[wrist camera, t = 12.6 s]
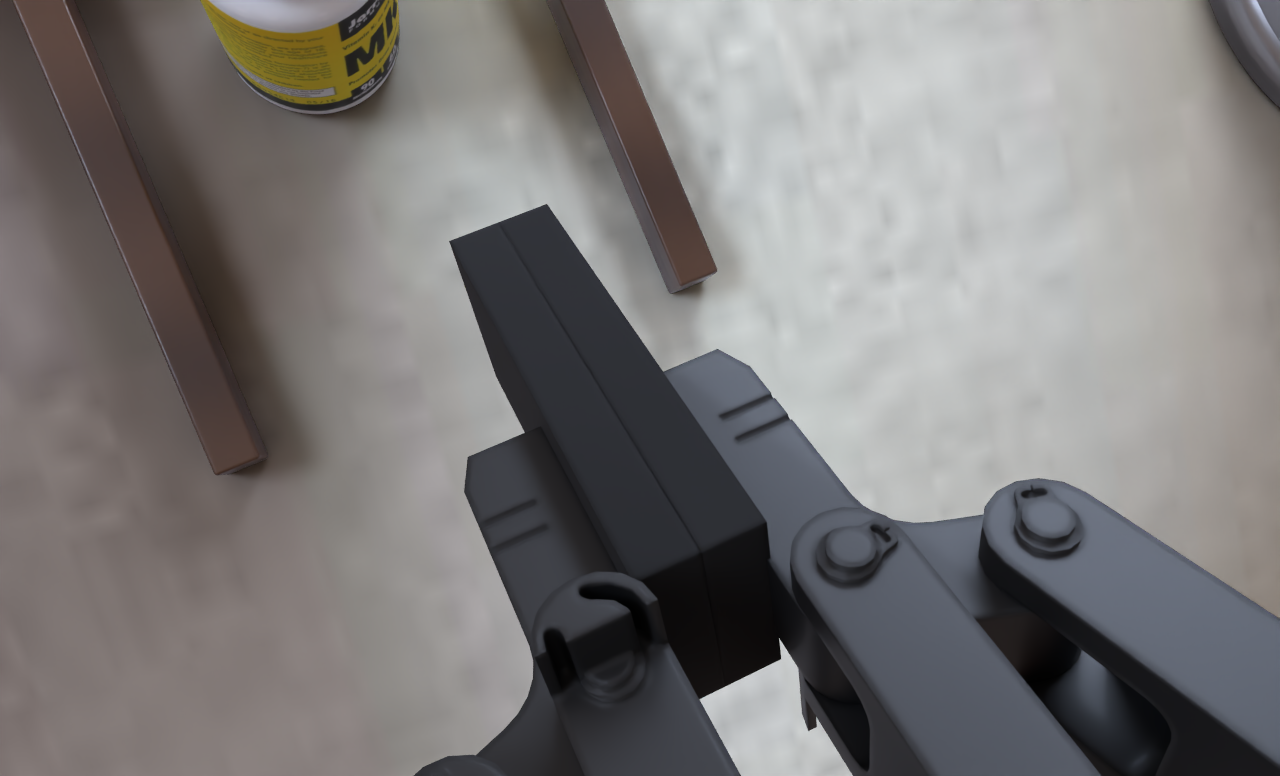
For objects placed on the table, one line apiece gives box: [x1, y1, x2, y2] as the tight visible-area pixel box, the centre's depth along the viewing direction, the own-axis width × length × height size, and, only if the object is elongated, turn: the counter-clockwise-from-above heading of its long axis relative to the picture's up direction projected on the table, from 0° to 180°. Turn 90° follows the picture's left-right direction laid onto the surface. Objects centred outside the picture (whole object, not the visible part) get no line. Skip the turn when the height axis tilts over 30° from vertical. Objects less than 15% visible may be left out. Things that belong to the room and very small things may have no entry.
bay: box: [12, 0, 717, 475], centre depth 29 cm, size 16×14×2 cm
